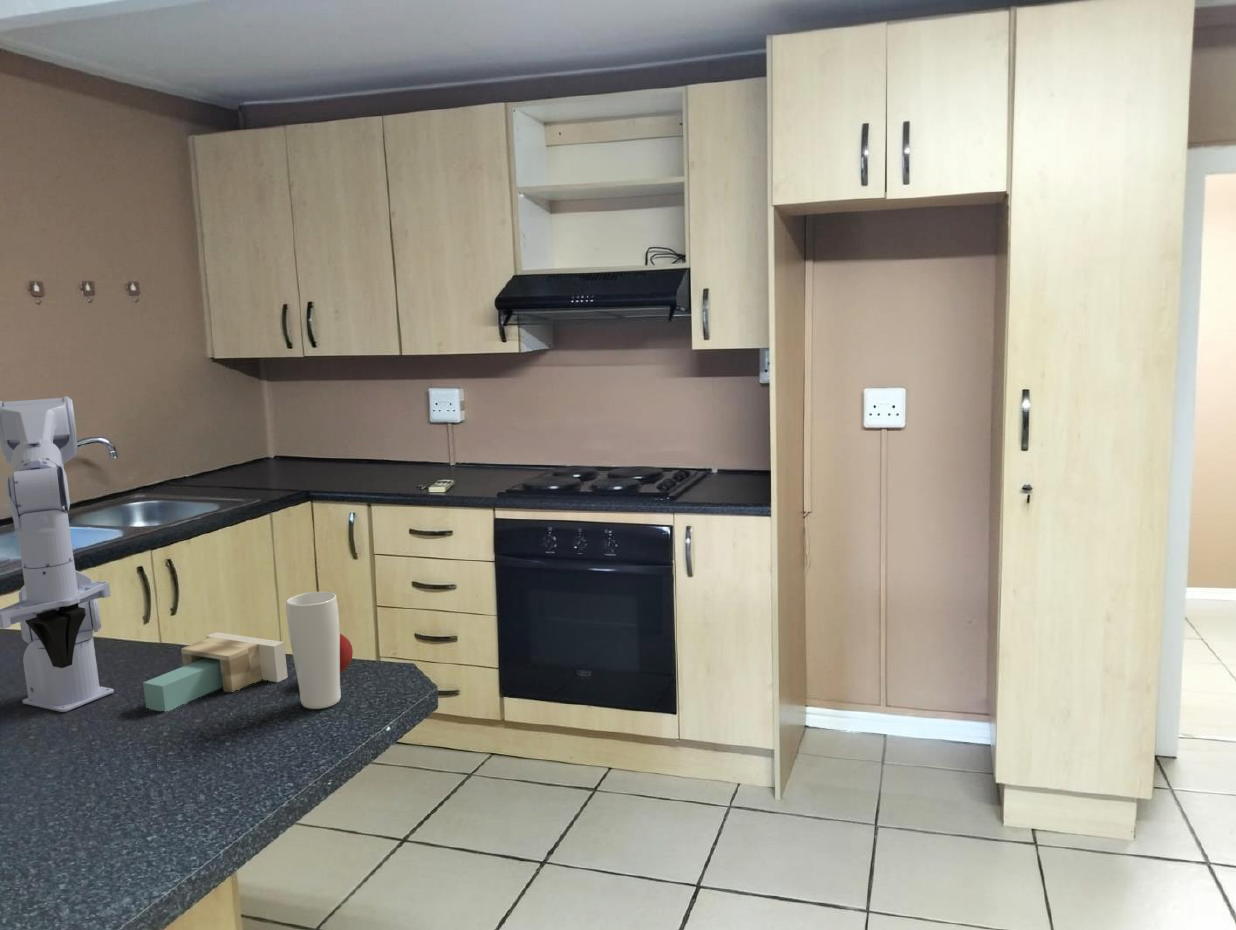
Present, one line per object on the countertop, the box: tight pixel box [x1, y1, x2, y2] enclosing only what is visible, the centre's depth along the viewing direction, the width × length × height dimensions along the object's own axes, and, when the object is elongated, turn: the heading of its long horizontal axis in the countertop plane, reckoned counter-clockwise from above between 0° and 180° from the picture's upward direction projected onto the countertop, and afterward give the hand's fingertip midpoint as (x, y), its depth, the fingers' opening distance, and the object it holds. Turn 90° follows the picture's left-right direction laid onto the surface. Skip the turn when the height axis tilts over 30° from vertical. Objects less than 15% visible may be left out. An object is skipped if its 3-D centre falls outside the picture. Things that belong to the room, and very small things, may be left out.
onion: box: [340, 633, 354, 675], centre depth 146 cm, size 6×6×8 cm
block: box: [180, 637, 263, 693], centre depth 147 cm, size 10×6×6 cm, turn 63°
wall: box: [205, 631, 289, 683], centre depth 150 cm, size 14×2×6 cm, turn 63°
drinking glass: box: [285, 591, 342, 710], centre depth 136 cm, size 7×7×15 cm
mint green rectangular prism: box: [142, 657, 223, 713], centre depth 142 cm, size 4×12×4 cm, turn 153°
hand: (62, 665), depth 128 cm, fingers closed
